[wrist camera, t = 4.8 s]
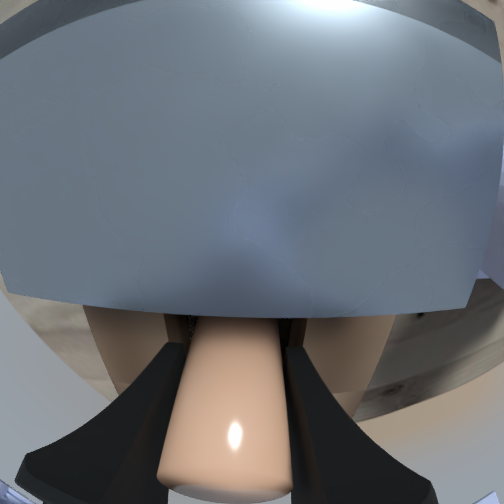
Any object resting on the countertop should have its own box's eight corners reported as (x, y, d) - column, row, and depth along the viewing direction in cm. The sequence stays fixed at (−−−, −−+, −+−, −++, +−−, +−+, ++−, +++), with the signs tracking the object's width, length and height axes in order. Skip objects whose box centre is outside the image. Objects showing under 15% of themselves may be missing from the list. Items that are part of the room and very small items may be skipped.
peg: (277, 341, 13) (290, 502, 6) (207, 343, 13) (178, 498, 6) (275, 278, 12) (297, 465, 4) (194, 283, 12) (136, 456, 4)
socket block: (390, 142, 10) (431, 148, 7) (341, 378, 15) (352, 417, 12) (96, 139, 10) (53, 145, 7) (140, 371, 15) (125, 409, 12)
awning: (370, 68, 8) (494, 21, 2) (361, 210, 11) (465, 307, 4) (118, 67, 8) (-10, 32, 2) (121, 206, 11) (8, 292, 4)
